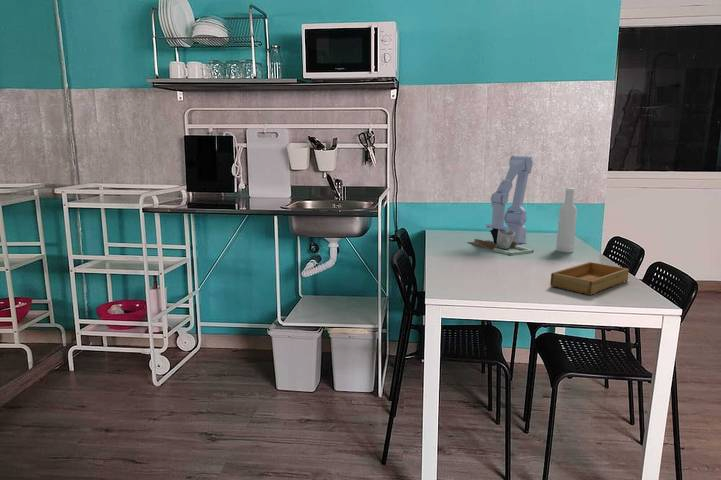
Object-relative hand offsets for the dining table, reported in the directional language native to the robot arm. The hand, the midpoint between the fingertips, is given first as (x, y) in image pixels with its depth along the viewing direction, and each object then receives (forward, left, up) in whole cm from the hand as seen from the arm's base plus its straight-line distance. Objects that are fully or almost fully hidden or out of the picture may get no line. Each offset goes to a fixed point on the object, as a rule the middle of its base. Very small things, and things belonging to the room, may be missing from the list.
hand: (496, 244), depth 263 cm
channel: (0, -1, -1) cm, 2 cm away
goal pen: (0, +11, -1) cm, 11 cm away
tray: (+14, +67, -2) cm, 68 cm away
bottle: (-24, +21, -1) cm, 32 cm away
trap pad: (0, -11, -1) cm, 11 cm away
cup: (0, +5, -1) cm, 5 cm away
